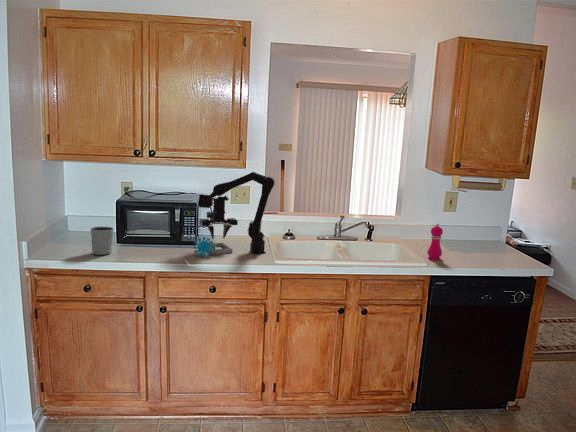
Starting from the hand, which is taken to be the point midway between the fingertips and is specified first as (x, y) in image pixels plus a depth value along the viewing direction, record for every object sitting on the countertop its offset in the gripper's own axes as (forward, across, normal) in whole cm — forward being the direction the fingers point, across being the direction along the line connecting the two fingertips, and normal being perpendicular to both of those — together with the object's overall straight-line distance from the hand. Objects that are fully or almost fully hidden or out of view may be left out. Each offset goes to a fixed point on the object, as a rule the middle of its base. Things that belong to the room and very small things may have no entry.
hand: (218, 238), depth 248 cm
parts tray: (+6, 0, 0) cm, 6 cm away
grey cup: (+7, +55, -10) cm, 56 cm away
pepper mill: (+7, -102, +48) cm, 113 cm away
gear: (+7, +10, +10) cm, 16 cm away
